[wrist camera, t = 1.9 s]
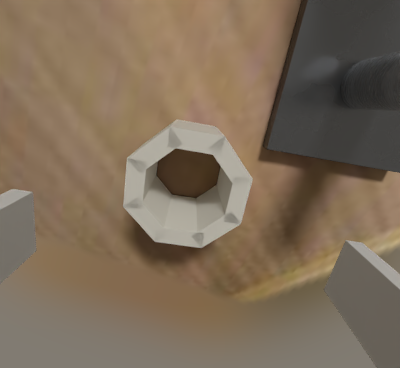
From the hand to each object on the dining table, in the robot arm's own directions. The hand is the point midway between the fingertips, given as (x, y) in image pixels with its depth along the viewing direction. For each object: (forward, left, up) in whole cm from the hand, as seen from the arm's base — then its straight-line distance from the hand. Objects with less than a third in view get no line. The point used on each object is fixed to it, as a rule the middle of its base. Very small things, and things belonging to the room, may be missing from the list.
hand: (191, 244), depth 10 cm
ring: (0, 0, -11) cm, 11 cm away
